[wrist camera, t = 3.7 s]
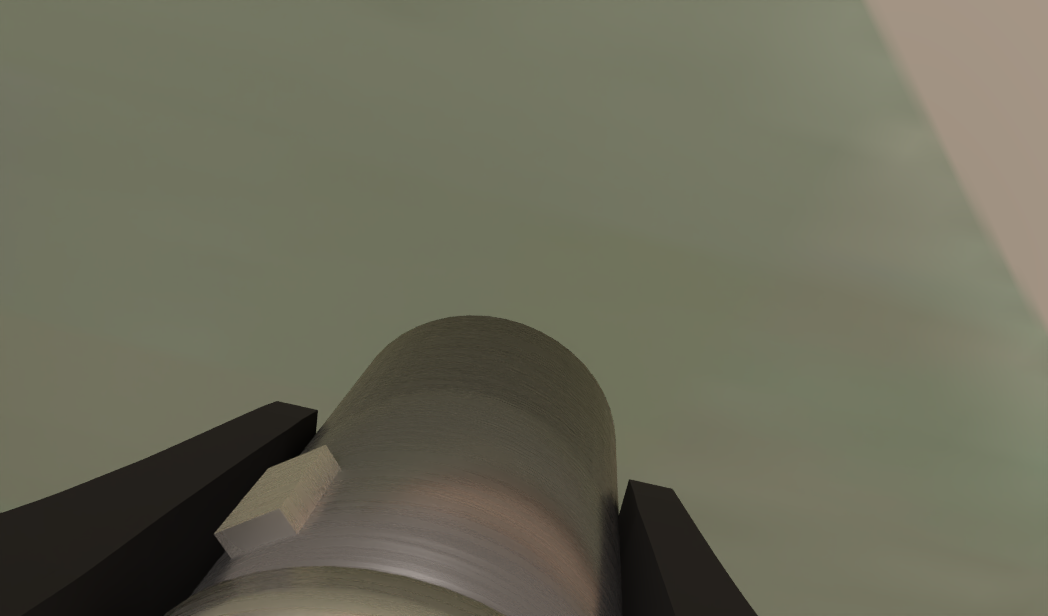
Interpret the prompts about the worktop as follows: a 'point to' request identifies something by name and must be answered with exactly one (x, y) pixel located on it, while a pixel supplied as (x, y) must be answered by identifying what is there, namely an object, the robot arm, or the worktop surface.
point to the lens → (437, 491)
